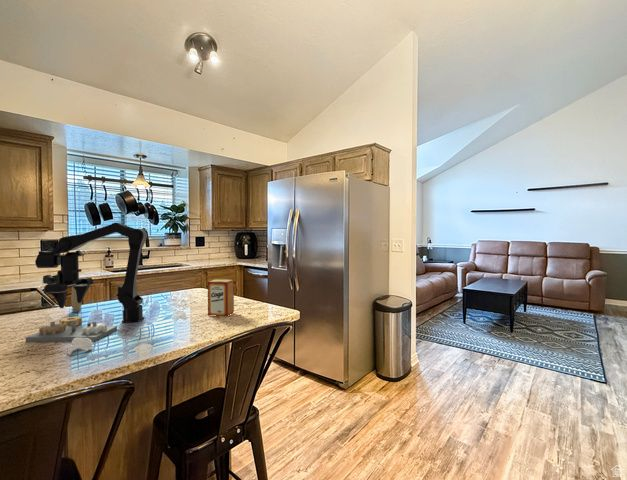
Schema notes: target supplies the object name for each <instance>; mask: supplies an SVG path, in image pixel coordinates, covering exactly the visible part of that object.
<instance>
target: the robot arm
mask: <svg viewBox="0 0 627 480" xmlns="http://www.w3.org/2000/svg"><path fill="white" fill-rule="evenodd" d="M116 233H117V234H118V235H122V236H124V237H125V238H127V239H128V240H127V241H128V246H129V252H128V257H127V258H128V259H127V264H126V269H125V270H126V271H125V277H124V282H123V283H122V284H121V285H118V286H117V294H116V296H115V297H117V301H118V303H120V304H121V305H122V306H123V310H122V320H121V323H138V322H140V321H142V320H144V319H145V318H146V317H145V316H144V315H143V314H144V313H143V312H144V311H143V310H144V309H143V305H142V303H143V301H144V298H143V297H141V296H140V295H139V294H138V285H137V277H138V271H139V265H140V260H141V259H140V258H141V253H142V250H143V247H144V245H145V243H146V240H147V238H148V233H147V232H146V230H144V229H143V228H134V227H132V226H129V225H126V224H123V223H121V222H112V223H111V224H108V225H106V226H102V227H99V228H97V229H93V230H91V231H88V232H84V233H80V234H73V235H68V236H63V237H60V238H59V239H58V241H57V245H56V246H55V247H54V248H53V249H52V250H51V251H47V250H46V251H45V250H41V251H38V255H36V258H35V262H34V263H35V266H36V268H37V269H57V268H59V266H60V269H59V270H57V272H56V275H55V274H54V275H51V274H45V275H43V277H42V283H43V284H44V285H45V286H44V287H43V293H46V294H48V295H52V297H54V299H55V301H56V303H57V305H58V307H59V309H64V307H65V305H66V301H67V297H68V292H69V291H68V288H70V287H71V288H72V286H73V288H74V289H75V290H76V295H77V302H78V303H81V301H83V299H84V298H85V295H86V293H87V292H88V290H89V289H90V287H91V286H92V285H93V284H94V279H93V277H80V273H81V272H82V268H79V266H80V264H79V261H80V260H79V257H83V256H85V255H86V254H85V253H83V252H82V251H81V250H80V248H82V247H84V246H86V245H87V244H88V243H90V242H93V241H96V240H99V239H102V238H104V237H107V236H110V235H113V234H116ZM72 251H73V252H72Z"/></svg>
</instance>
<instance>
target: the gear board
mask: <svg viewBox="0 0 627 480" xmlns="http://www.w3.org/2000/svg"><path fill="white" fill-rule="evenodd" d="M107 324H108V323H103V322H99V323H97V321H96V320H95V321H92V323H91V322H87V325H84V326H79V325H78V326H76V320H73V321H72V326H71V327H66V324H62V323H59V322H58V323H56V322H55V321H50V323H49V324H47V325H42V326H41V327H39V329H38V331H39V332H37V333H33V334H31V335H27V336H25V342H28V343H30V342H32V343H33V342H39V343H41V342H72V341H73V339H74V338H88V339H90V340H91V342H97V341H99V340H101V339H102V338H104V337H106V336H109V335H111V334H112V333H114V332H116V331H118V325H113V326H109V325H107Z"/></svg>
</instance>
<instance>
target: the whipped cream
mask: <svg viewBox="0 0 627 480" xmlns="http://www.w3.org/2000/svg"><path fill="white" fill-rule="evenodd" d="M93 344H94V343H93V341H91V340H90V339H88V338H74V339H73V341H71V344H70V345H69V346H68V348H67V349H68V350H67V354H68V355H72V353H73V352H74V351H76V350H82V351H86V352H89V350H90V351H91V350H93V347H94V345H93Z"/></svg>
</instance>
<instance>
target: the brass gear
mask: <svg viewBox="0 0 627 480" xmlns="http://www.w3.org/2000/svg"><path fill="white" fill-rule="evenodd" d="M73 320H76V326H79V325H82V324H83V317H82V316H81V315H80V316H72V317H71V316H69V317H64V318H63V319H62V318H61V319H59V320H58V324H59V323H62V324H66V327H71V326H72V321H73Z"/></svg>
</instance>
